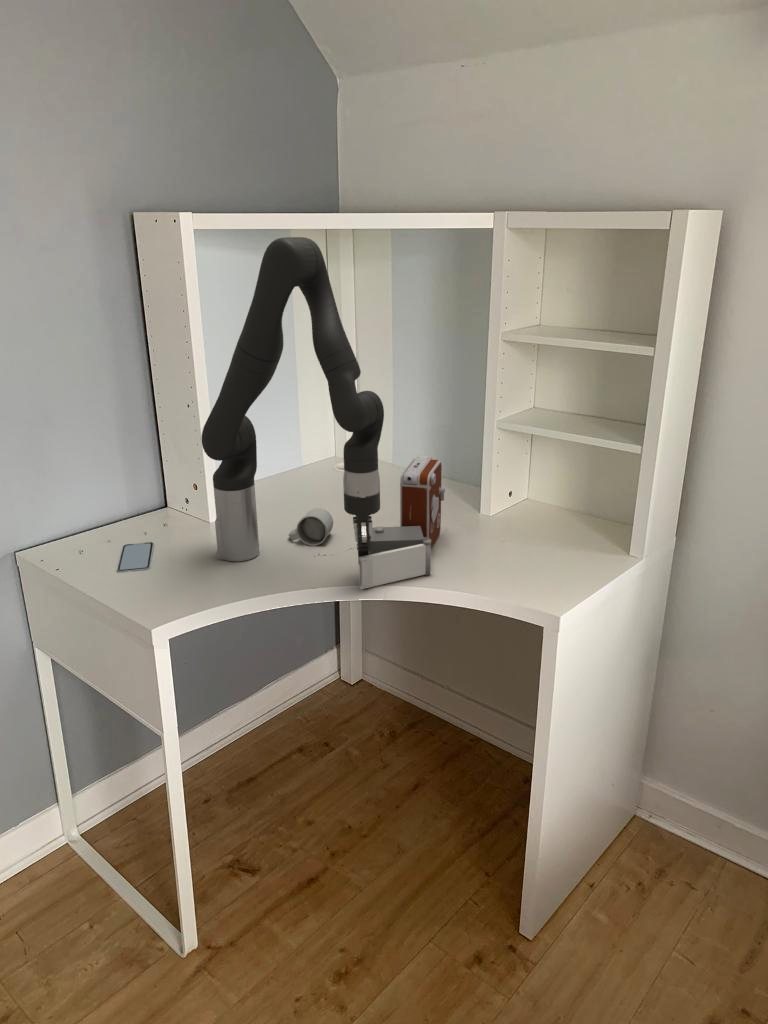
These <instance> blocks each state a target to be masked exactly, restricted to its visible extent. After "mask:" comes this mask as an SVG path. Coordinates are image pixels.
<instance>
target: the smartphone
mask: <svg viewBox="0 0 768 1024" xmlns="http://www.w3.org/2000/svg"><path fill="white" fill-rule="evenodd" d="M154 549H155V543H154V542H153V541H148V542H138V543H135V542H134V543H127V544H123V545H122V548H121V551H120V555H119V559H118V564H117V568H116V572H117V571H118V572H117V573H129V572H128V571H132V572H141V571H148V570H150V569H151V565H152V561H153V555H154ZM140 570H141V571H140Z"/></svg>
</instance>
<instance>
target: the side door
mask: <svg viewBox="0 0 768 1024" xmlns="http://www.w3.org/2000/svg"><path fill="white" fill-rule="evenodd" d="M431 551H432V549H431V544H418V545H414V546H409V547H404V548H399V549H395V550H390V551H385V552H381V553H376V554H371V555H366V556H362V557H359V562H358V566H359V588H360V589H361V590H362V589H363V590H364V589H367V588H371V587H377V586H381V585H384V584H389V583H394V582H397V581H403V580H407V579H412V578H415V577H420V576H424V575H425V576H429V575H431V555H432V553H431Z"/></svg>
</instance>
